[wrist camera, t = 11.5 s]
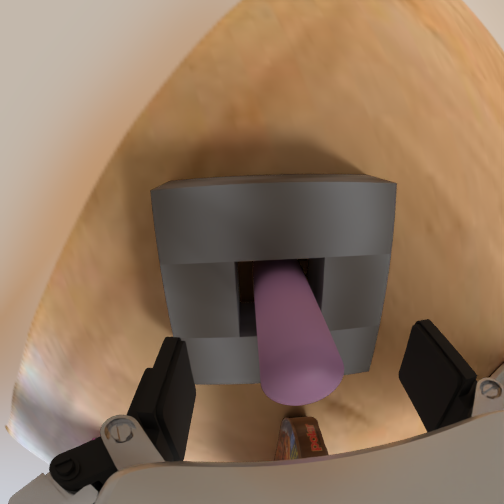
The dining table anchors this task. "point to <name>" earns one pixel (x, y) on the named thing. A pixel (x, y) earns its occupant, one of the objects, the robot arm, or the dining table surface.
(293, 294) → the peg
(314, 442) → the tin
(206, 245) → the hole block
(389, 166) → the dining table surface
